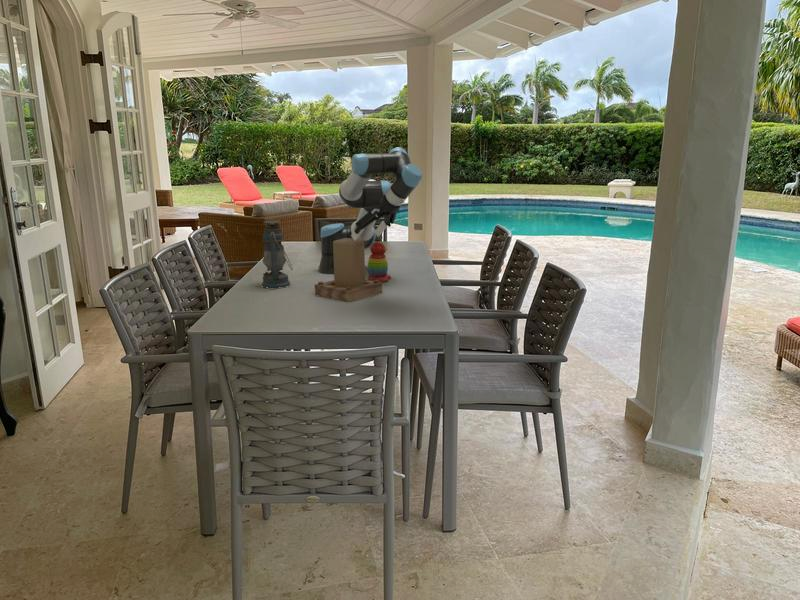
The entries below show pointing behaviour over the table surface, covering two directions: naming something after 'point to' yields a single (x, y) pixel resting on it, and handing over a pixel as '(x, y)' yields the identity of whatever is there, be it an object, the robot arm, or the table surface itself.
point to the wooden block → (349, 262)
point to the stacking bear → (378, 263)
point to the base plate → (348, 297)
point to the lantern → (274, 256)
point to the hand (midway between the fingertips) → (365, 236)
